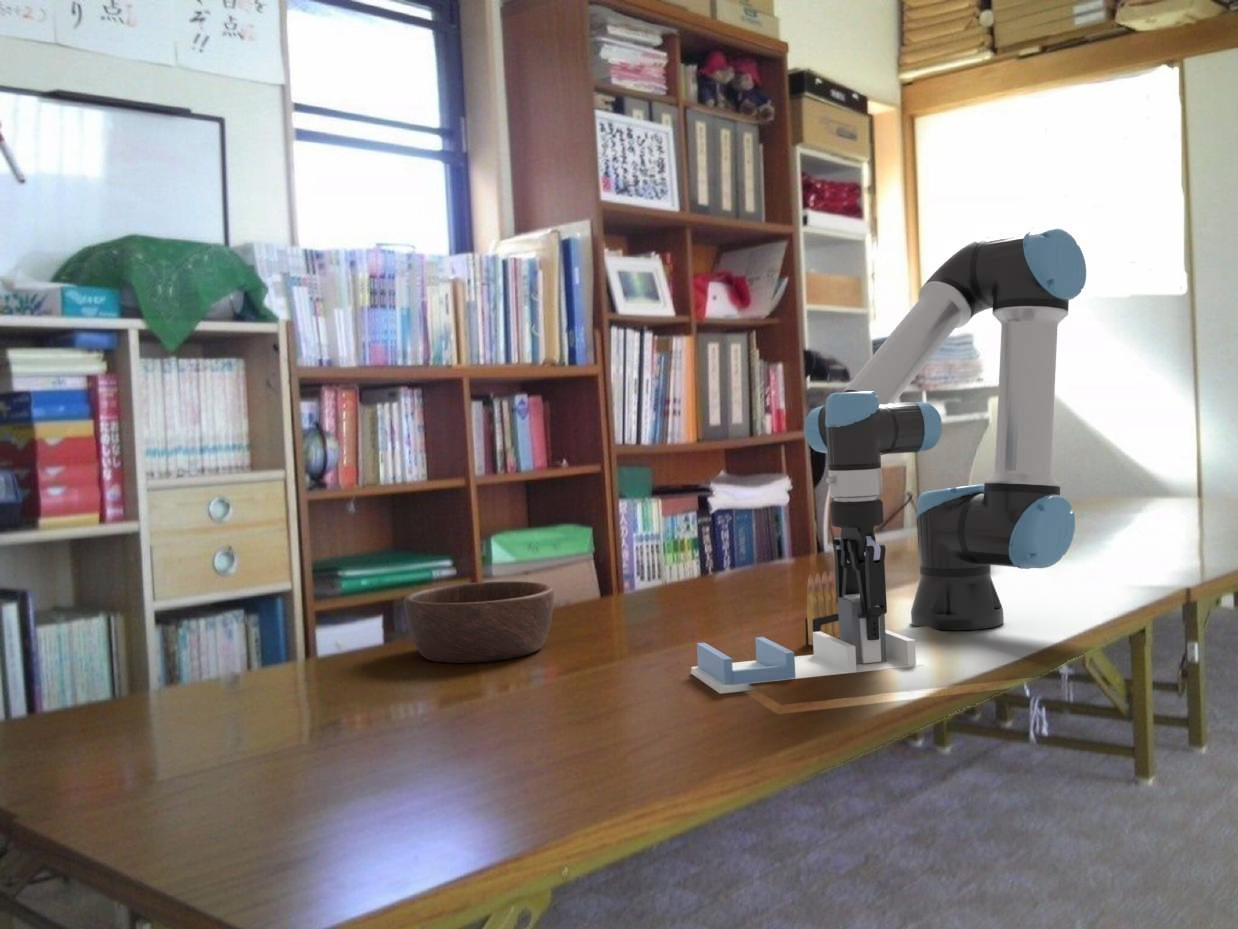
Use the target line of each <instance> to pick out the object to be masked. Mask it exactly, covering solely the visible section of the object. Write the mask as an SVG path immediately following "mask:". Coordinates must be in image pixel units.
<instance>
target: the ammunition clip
mask: <svg viewBox="0 0 1238 929" xmlns="http://www.w3.org/2000/svg"><path fill="white" fill-rule="evenodd" d="M806 590H807V593H806V594H807V595H806V597H807V598H806V614H807V615H806V617H807V618H805V622H804V623H805V626H804V628H805V645H806V646H809V645H810V646H813V632H819V631H821V632H823V633H825V634H828V635H830V636H832V637H835V638H837V639H839V640H840V635H839V614H838V604H837V601H836V578H835V573H834V572H833V570H832V569H831V570H830V571H829V574H828V575H827V572H826V571H823V573H822V576H820V573H818V572H817V573H816V574H815V578H813V575H812V574H811V573H810V574H809V575H808V580H807V589H806Z"/></svg>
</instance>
